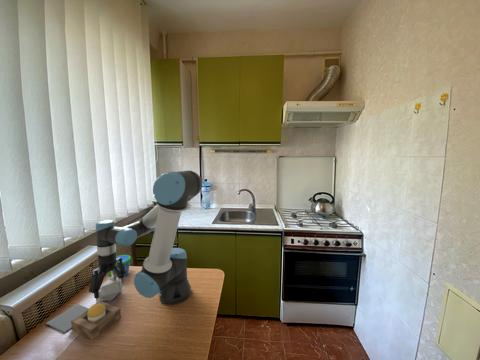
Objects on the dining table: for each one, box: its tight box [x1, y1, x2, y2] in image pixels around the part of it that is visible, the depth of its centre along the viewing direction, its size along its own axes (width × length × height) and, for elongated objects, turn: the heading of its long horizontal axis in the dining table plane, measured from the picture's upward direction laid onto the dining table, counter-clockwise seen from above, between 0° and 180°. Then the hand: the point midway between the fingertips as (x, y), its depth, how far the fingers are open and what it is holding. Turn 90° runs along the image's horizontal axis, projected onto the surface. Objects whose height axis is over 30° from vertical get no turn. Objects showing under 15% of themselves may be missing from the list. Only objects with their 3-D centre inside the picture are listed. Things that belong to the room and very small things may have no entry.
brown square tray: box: [71, 301, 122, 341], centre depth 86 cm, size 12×12×4 cm
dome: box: [88, 302, 106, 323], centre depth 85 cm, size 6×6×7 cm
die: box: [100, 279, 121, 302], centre depth 101 cm, size 8×9×10 cm
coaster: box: [45, 303, 90, 334], centre depth 89 cm, size 12×12×1 cm
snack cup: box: [106, 254, 133, 279], centre depth 120 cm, size 16×10×10 cm
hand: (109, 296), depth 101 cm, fingers closed on die, 10 cm apart
